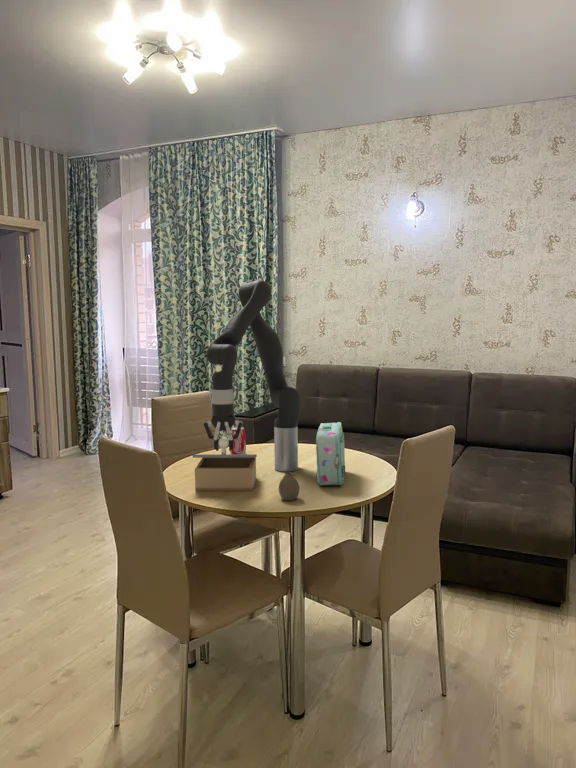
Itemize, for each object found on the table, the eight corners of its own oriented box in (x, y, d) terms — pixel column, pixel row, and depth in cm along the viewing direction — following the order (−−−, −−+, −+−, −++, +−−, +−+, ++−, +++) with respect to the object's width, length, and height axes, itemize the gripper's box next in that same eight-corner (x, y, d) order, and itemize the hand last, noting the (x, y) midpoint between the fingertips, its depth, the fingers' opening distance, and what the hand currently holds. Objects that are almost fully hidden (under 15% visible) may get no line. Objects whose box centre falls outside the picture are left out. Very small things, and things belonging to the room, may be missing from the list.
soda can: (249, 454, 249) (248, 428, 247) (236, 457, 244) (236, 430, 243) (239, 452, 254) (238, 425, 253) (226, 454, 249) (226, 428, 248)
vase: (276, 496, 189) (276, 471, 188) (296, 495, 191) (296, 470, 190) (281, 503, 183) (281, 477, 182) (301, 501, 184) (301, 475, 183)
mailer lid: (256, 457, 211) (256, 438, 212) (252, 457, 193) (252, 437, 194) (201, 457, 211) (202, 438, 212) (192, 457, 194) (193, 437, 194)
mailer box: (256, 478, 212) (255, 457, 211) (252, 490, 196) (252, 468, 195) (203, 478, 212) (202, 457, 211) (195, 490, 196) (194, 468, 196)
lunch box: (345, 490, 196) (345, 430, 193) (315, 490, 196) (315, 429, 194) (344, 470, 222) (344, 416, 220) (318, 469, 223) (318, 416, 220)
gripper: (244, 400, 199) (245, 447, 201) (204, 400, 199) (205, 448, 201) (242, 403, 192) (243, 452, 193) (200, 403, 192) (201, 452, 194)
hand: (223, 450), depth 197 cm, fingers closed on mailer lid, 4 cm apart
